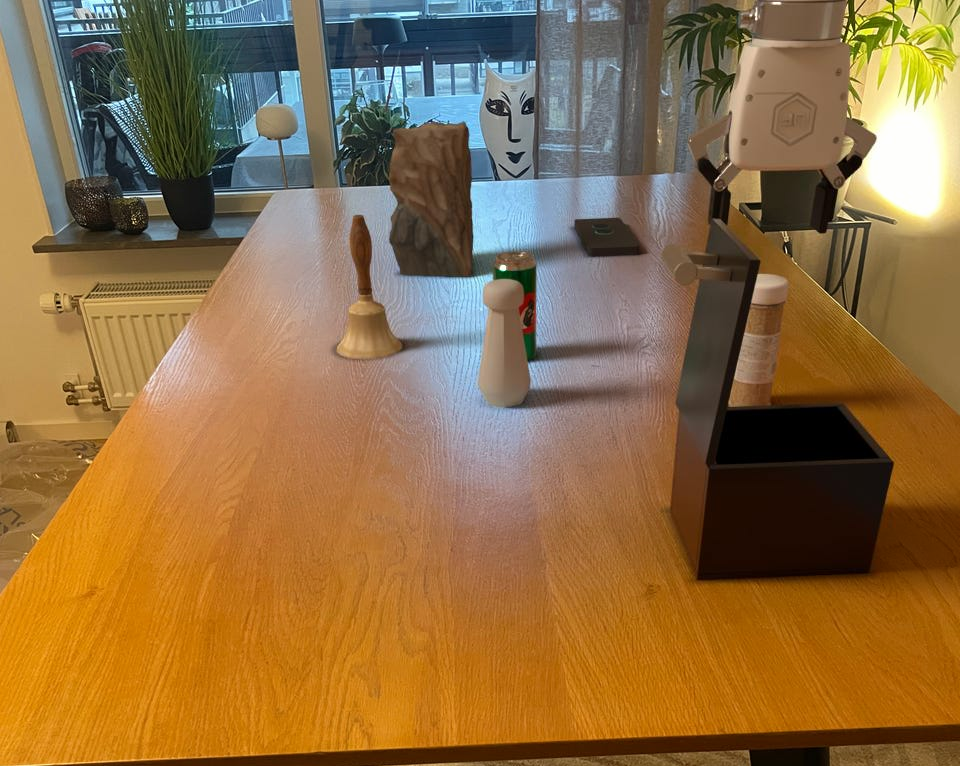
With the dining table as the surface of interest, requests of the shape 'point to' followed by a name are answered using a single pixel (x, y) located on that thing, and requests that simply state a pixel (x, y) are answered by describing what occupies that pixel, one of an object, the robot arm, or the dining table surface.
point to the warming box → (781, 494)
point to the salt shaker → (503, 346)
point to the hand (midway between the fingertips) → (768, 231)
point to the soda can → (524, 272)
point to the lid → (712, 329)
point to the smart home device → (606, 237)
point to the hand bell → (366, 306)
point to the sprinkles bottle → (760, 343)
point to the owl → (432, 200)
